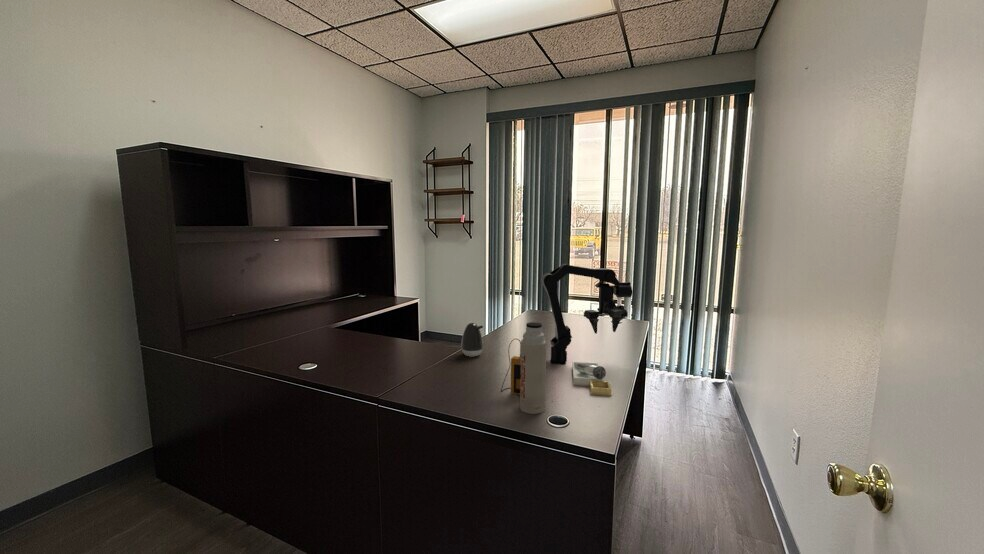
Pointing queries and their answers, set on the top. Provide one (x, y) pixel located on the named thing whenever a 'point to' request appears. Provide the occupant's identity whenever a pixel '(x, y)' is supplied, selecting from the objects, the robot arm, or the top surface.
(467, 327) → the pump dispenser
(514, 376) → the multimeter
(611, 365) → the top surface
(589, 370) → the strut
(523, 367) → the thermos bottle
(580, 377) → the tray
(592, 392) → the socket collar
